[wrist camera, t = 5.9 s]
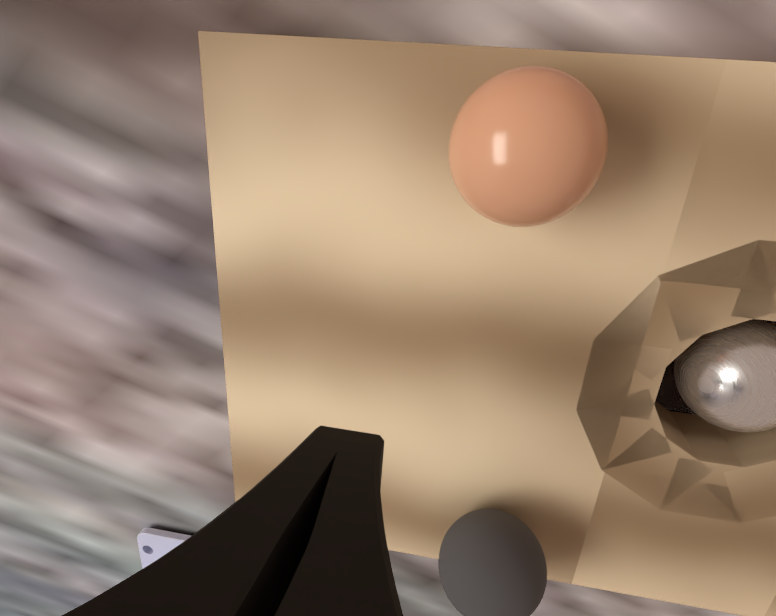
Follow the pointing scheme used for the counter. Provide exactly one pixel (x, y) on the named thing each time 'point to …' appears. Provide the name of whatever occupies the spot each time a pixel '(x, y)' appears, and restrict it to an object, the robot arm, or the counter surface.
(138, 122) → the counter surface
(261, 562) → the robot arm
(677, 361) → the steel ball
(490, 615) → the black rubber ball
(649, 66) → the board
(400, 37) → the counter surface
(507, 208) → the terracotta ball
